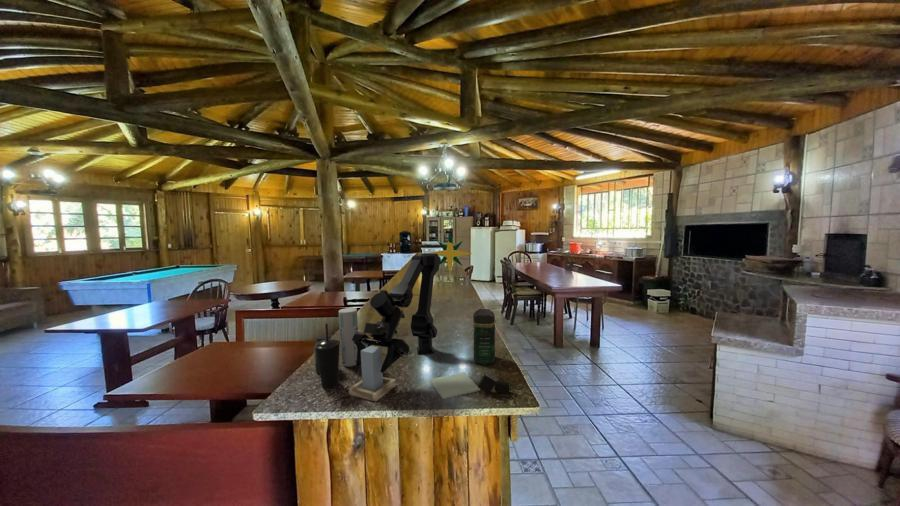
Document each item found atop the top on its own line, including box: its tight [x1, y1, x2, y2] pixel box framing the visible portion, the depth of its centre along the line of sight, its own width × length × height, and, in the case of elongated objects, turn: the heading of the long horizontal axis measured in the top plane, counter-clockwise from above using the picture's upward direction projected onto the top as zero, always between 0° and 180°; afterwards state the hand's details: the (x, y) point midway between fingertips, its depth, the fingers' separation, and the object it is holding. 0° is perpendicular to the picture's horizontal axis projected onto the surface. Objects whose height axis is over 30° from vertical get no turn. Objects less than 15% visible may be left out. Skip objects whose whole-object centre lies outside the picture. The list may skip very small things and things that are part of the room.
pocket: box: [348, 376, 397, 402], centre depth 102 cm, size 10×10×2 cm
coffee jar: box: [472, 308, 496, 366], centre depth 121 cm, size 10×8×19 cm
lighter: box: [476, 372, 511, 395], centre depth 99 cm, size 9×2×6 cm
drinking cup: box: [314, 323, 341, 390], centre depth 105 cm, size 8×8×20 cm
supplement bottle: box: [313, 334, 332, 374], centre depth 116 cm, size 7×7×12 cm
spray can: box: [338, 307, 359, 368], centre depth 121 cm, size 6×6×20 cm
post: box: [360, 345, 384, 392], centre depth 101 cm, size 4×4×13 cm
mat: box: [429, 372, 481, 400], centre depth 103 cm, size 12×12×1 cm
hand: (369, 369), depth 100 cm, fingers open, 9 cm apart
